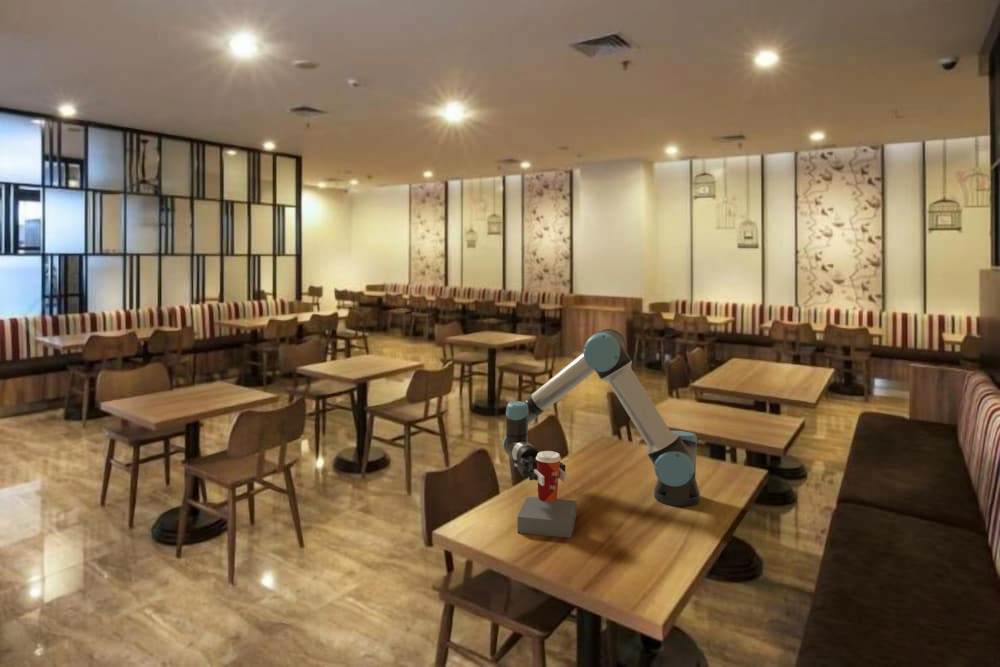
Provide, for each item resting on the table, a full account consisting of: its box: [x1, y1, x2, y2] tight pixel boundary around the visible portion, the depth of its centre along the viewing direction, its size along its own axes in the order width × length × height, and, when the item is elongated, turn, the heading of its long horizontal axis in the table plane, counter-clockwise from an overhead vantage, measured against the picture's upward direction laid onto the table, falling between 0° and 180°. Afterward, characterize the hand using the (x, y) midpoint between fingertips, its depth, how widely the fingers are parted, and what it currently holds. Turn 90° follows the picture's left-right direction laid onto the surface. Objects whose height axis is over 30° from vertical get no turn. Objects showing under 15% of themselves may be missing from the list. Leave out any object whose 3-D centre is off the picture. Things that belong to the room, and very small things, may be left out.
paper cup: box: [536, 450, 562, 502], centre depth 193 cm, size 8×8×14 cm
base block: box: [517, 496, 578, 539], centre depth 194 cm, size 16×16×5 cm
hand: (554, 479), depth 188 cm, fingers closed on paper cup, 7 cm apart
